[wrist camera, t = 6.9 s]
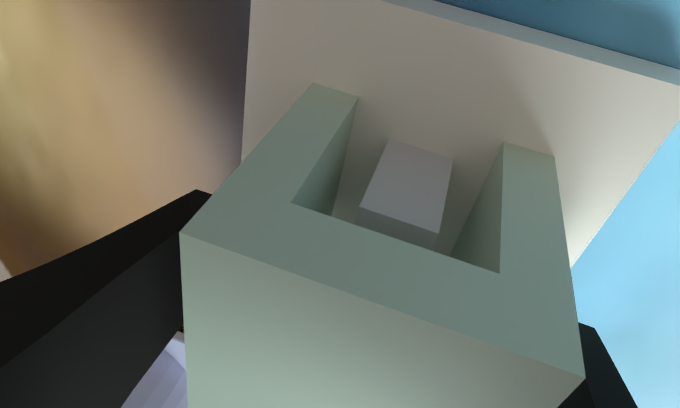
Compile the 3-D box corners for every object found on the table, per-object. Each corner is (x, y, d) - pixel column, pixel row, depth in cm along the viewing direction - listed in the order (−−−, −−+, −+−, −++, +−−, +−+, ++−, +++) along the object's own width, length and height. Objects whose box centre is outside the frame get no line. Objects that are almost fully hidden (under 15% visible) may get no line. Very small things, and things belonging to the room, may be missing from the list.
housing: (452, 336, 13) (426, 543, 9) (282, 275, 13) (190, 444, 10) (554, 156, 9) (585, 377, 5) (312, 82, 10) (179, 232, 6)
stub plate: (479, 367, 15) (471, 481, 12) (246, 281, 16) (190, 370, 13) (683, 70, 8) (762, 169, 6) (274, -45, 9) (178, -6, 7)
